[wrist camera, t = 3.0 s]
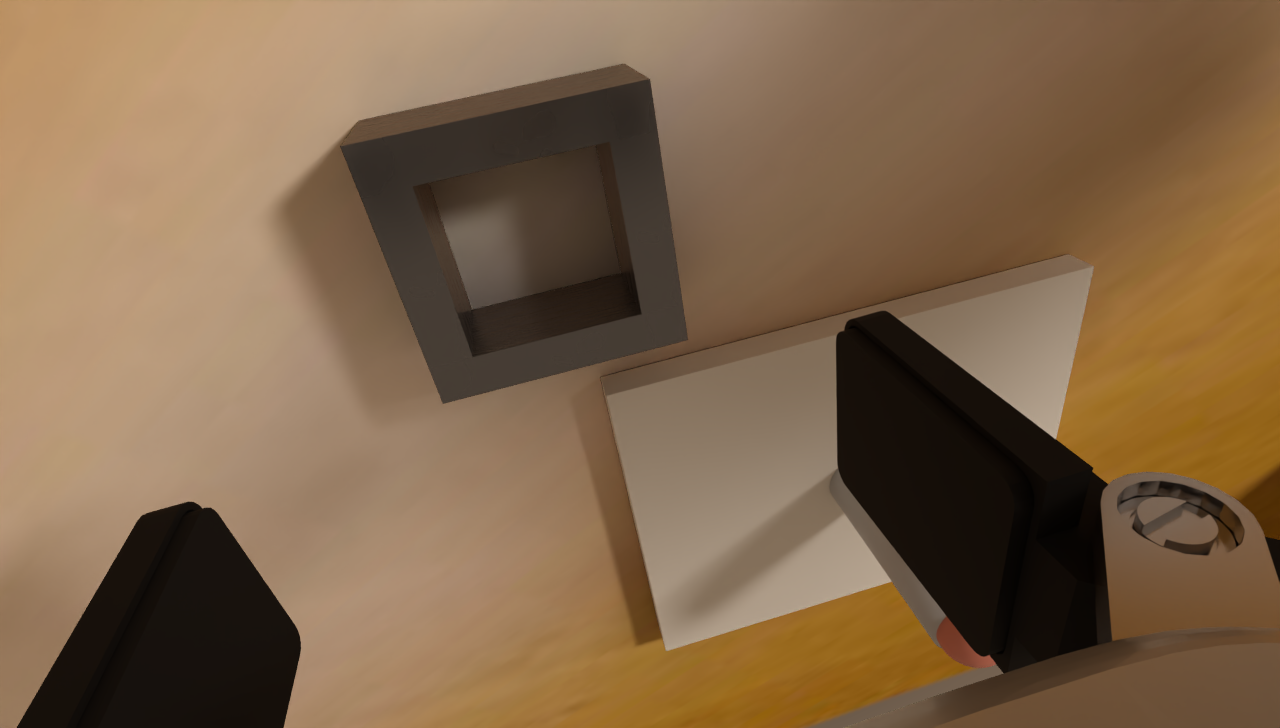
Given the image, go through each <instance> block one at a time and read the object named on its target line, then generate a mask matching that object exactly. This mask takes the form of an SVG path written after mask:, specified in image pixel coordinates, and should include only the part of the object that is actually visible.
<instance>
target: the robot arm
mask: <svg viewBox="0 0 1280 728" xmlns="http://www.w3.org/2000/svg"><path fill="white" fill-rule="evenodd" d="M836 398H837V465H838V470H839V473H840V476H841V479H842V481H843V483H844V484H845V486H846V487H847V488H848V490H849V491H850V492H851V494H852V495H853V496H854V497H855V499H856V500H857V501H858V503H859V504H860V505H861V506H862V508H863V509H864V510H865V512H866V513H867V514H868V515H869V517H870V518H871V519H872V521H873V522H874V523H875V525H876V526H877V527H878V528H879V530H880V531H881V532H882V534H883V535H884V536H885V537H886V539H887V540H888V541H889V543H890V544H891V545H892V546H893V548H894V549H895V550H896V552H897V553H898V554H899V555H900V557H901V558H902V559H903V561H904V562H905V563H906V564H907V566H908V567H909V568H910V570H911V571H912V572H913V574H914V575H915V576H916V577H917V579H918V580H919V581H920V583H921V584H922V585H923V586H924V588H925V589H926V590H927V592H928V593H929V594H930V595H931V597H932V598H933V599H934V601H935V602H936V603H937V604H938V606H939V607H940V608H941V610H942V611H943V612H944V614H945V615H946V616H947V617H948V619H949V620H950V621H951V623H952V624H953V625H954V626H955V628H956V629H957V630H958V632H959V633H960V634H961V635H962V637H963V638H964V639H965V641H966V642H967V643H968V644H969V646H970V647H971V648H972V649H973V650H974V651H975V652H976V653H977V654H978V655H980V656H982V657H985V656H988V655H990V657H991V658H992V659H993V661H994V662H995V663H996V664H997V666H998V667H999V668H1000V669H1001V670H1002V672H1003V673H1004V674H1001V675H998V676H995V677H992V678H989V679H985V680H983V681H979V682H976V683H973V684H971V685H967V686H964V687H961V688H958V689H955V690H952V691H949V692H946V693H943V694H939V695H937V696H934V697H931V698H928V699H925V700H922V701H919V702H916V703H913V704H911V705H908V706H905V707H902V708H899V709H896V710H893V711H890V712H887V713H884V714H882V715H879V716H876V717H873V718H870V719H867V720H864V721H861V722H858V723H856V724H853V725H850V726H847V727H844V728H1280V540H1277V539H1272V538H1268V537H1265V536H1264V533H1263V530H1262V529H1261V527H1260V525H1259V523H1258V522H1257V520H1256V518H1255V517H1254V515H1253V514H1252V513H1251V512H1250V511H1249V510H1248V509H1246V508H1245V507H1244V506H1243V505H1242V504H1241V503H1240V502H1239V501H1238V500H1236V499H1234V498H1233V497H1231V496H1229V495H1228V494H1226V493H1224V492H1223V491H1221V490H1219V489H1218V488H1215V487H1213V486H1210V485H1208V484H1205V483H1203V482H1200V481H1198V480H1195V479H1192V478H1187V477H1183V476H1179V475H1174V474H1170V473H1157V472H1142V473H1134V474H1127V475H1124V476H1122V477H1120V478H1117V479H1115V480H1113V481H1111V482H1110V484H1109V485H1108V484H1107V483H1106V482H1105V481H1103V480H1102V479H1101V478H1099V477H1098V476H1097V475H1095V474H1094V473H1093V472H1092V470H1093V467H1091V466H1090V465H1089V464H1087V463H1086V462H1085V461H1083V460H1082V459H1081V458H1080V457H1078V456H1077V455H1076V454H1074V453H1073V452H1072V451H1070V450H1069V449H1068V448H1066V447H1065V446H1064V445H1063V444H1061V443H1060V442H1059V441H1057V440H1056V439H1055V438H1053V437H1052V436H1051V435H1049V434H1048V433H1047V432H1045V431H1044V430H1043V429H1042V428H1040V427H1039V426H1038V425H1036V424H1035V423H1034V422H1032V421H1031V420H1030V419H1028V418H1027V417H1026V416H1024V415H1023V414H1022V413H1021V412H1019V411H1018V410H1017V409H1015V408H1014V407H1013V406H1011V405H1010V404H1009V403H1007V402H1006V401H1005V400H1004V399H1002V398H1001V397H1000V396H998V395H997V394H996V393H994V392H993V391H992V390H990V389H989V388H988V387H986V386H985V385H984V384H983V383H981V382H980V381H979V380H977V379H976V378H975V377H973V376H972V375H971V374H969V373H968V372H967V371H965V370H964V369H963V368H962V367H960V366H959V365H958V364H956V363H955V362H954V361H952V360H951V359H950V358H948V357H947V356H946V355H945V354H943V353H942V352H941V351H939V350H938V349H937V348H935V347H934V346H933V345H931V344H930V343H929V342H927V341H926V340H925V339H924V338H922V337H921V336H920V335H918V334H917V333H916V332H914V331H913V330H912V329H910V328H909V327H908V326H906V325H905V324H904V323H903V322H901V321H900V320H899V319H897V318H896V317H895V316H893V315H892V314H891V313H889V312H887V311H878V312H875V313H871V314H868V315H864V316H860V317H857V318H853V319H850V320H848V321H847V322H846V325H845V329H844V331H841V332H839V333H838V334H837V337H836ZM300 651H301V641H300V636H299V632H298V630H297V628H296V626H295V624H294V623H293V622H292V620H291V619H290V617H289V616H288V614H287V613H286V611H285V610H284V609H283V607H282V606H281V604H280V603H279V601H278V600H277V598H276V597H275V596H274V594H273V593H272V591H271V590H270V588H269V587H268V585H267V584H266V583H265V581H264V580H263V578H262V577H261V575H260V574H259V572H258V571H257V570H256V568H255V567H254V565H253V564H252V562H251V561H250V559H249V558H248V557H247V555H246V554H245V552H244V551H243V549H242V548H241V546H240V545H239V544H238V542H237V541H236V539H235V538H234V536H233V535H232V533H231V532H230V530H229V529H228V528H227V526H226V525H225V523H224V522H223V520H222V519H221V517H220V516H219V515H218V513H217V512H216V511H215V510H213V509H212V508H203V509H202V507H201V506H200V505H198V504H196V503H194V502H186V503H182V504H179V505H175V506H171V507H168V508H164V509H160V510H157V511H153V512H150V513H147V514H145V515H142V516H141V517H140V519H139V520H138V521H137V523H136V524H135V526H134V528H133V529H132V531H131V533H130V535H129V536H128V538H127V540H126V541H125V543H124V545H123V547H122V548H121V550H120V552H119V553H118V555H117V557H116V559H115V560H114V562H113V564H112V565H111V567H110V569H109V571H108V572H107V574H106V576H105V577H104V579H103V581H102V583H101V584H100V586H99V588H98V589H97V591H96V593H95V595H94V596H93V598H92V600H91V601H90V603H89V605H88V607H87V608H86V610H85V612H84V613H83V615H82V617H81V619H80V620H79V622H78V624H77V625H76V627H75V629H74V631H73V632H72V634H71V636H70V637H69V639H68V641H67V643H66V644H65V646H64V648H63V649H62V651H61V653H60V654H59V656H58V658H57V660H56V661H55V663H54V665H53V666H52V668H51V670H50V672H49V673H48V675H47V677H46V678H45V680H44V682H43V684H42V685H41V687H40V689H39V690H38V692H37V694H36V696H35V697H34V699H33V701H32V702H31V704H30V706H29V708H28V709H27V711H26V713H25V714H24V716H23V718H22V720H21V721H20V723H19V725H18V726H17V728H283V727H284V723H285V719H286V714H287V710H288V705H289V701H290V697H291V692H292V688H293V683H294V679H295V675H296V670H297V666H298V661H299V657H300Z"/></svg>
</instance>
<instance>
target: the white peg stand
mask: <svg viewBox="0 0 1280 728" xmlns="http://www.w3.org/2000/svg"><path fill="white" fill-rule="evenodd" d="M1093 269H1094V266H1093V265H1091V264H1089V263H1086V262H1084V261H1082V260H1080V259H1078V258H1076V257H1074V256H1072V255H1070V254H1067V255H1063V256H1060V257H1056V258H1052V259H1048V260H1044V261H1041V262H1037V263H1033V264H1029V265H1025V266H1022V267H1018V268H1014V269H1010V270H1006V271H1003V272H999V273H995V274H991V275H987V276H984V277H980V278H976V279H972V280H968V281H965V282H961V283H957V284H953V285H949V286H946V287H942V288H938V289H934V290H930V291H927V292H923V293H919V294H915V295H911V296H908V297H904V298H900V299H896V300H892V301H888V302H885V303H881V304H877V305H873V306H869V307H866V308H862V309H858V310H854V311H850V312H847V313H843V314H839V315H835V316H831V317H828V318H824V319H820V320H816V321H812V322H809V323H805V324H801V325H797V326H793V327H790V328H786V329H782V330H778V331H774V332H771V333H767V334H763V335H759V336H755V337H752V338H748V339H744V340H740V341H736V342H733V343H729V344H725V345H721V346H717V347H714V348H710V349H706V350H702V351H698V352H695V353H691V354H687V355H683V356H679V357H675V358H672V359H668V360H664V361H660V362H656V363H653V364H649V365H645V366H641V367H637V368H634V369H630V370H626V371H622V372H618V373H615V374H611V375H607V376H603V377H600V379H601V383H602V387H603V391H604V395H605V400H606V404H607V408H608V412H609V417H610V421H611V425H612V429H613V434H614V438H615V442H616V446H617V451H618V455H619V459H620V463H621V467H622V472H623V476H624V480H625V484H626V489H627V493H628V497H629V501H630V506H631V510H632V514H633V518H634V522H635V527H636V531H637V535H638V539H639V544H640V548H641V552H642V556H643V561H644V565H645V569H646V573H647V578H648V582H649V586H650V590H651V594H652V599H653V603H654V607H655V611H656V616H657V620H658V624H659V628H660V632H661V635H662V639H663V642H664V645H665V649H666V651H668V650H672V649H675V648H678V647H681V646H684V645H688V644H691V643H694V642H697V641H701V640H704V639H707V638H710V637H714V636H717V635H720V634H723V633H727V632H730V631H733V630H736V629H739V628H743V627H746V626H749V625H752V624H756V623H759V622H762V621H765V620H769V619H772V618H775V617H778V616H782V615H785V614H788V613H791V612H795V611H798V610H801V609H804V608H807V607H811V606H814V605H817V604H820V603H824V602H827V601H830V600H833V599H837V598H840V597H843V596H846V595H850V594H853V593H856V592H859V591H863V590H866V589H869V588H872V587H875V586H879V585H882V584H885V583H888V582H893V584H894V585H895V587H896V588H897V590H898V591H899V593H900V594H901V595H902V597H903V598H904V600H905V601H906V603H907V604H908V605H909V607H910V608H911V610H912V611H913V613H914V614H915V616H916V617H917V618H918V620H919V621H920V623H921V624H922V626H923V627H924V629H925V630H926V631H927V633H928V634H929V636H930V637H931V639H932V640H933V641H934V643H935V644H936V645H937V646H938V647H940V648H943V650H944V651H945V652H946V653H947V654H948V655H949V656H950V657H951V658H953V659H954V660H955V661H957V662H959V663H961V664H963V665H966V666H970V667H975V668H985V667H990V666H993V665H995V664H996V663H995V662H994V661H993V659H992V658H991V657H990V655H988V656H985V657H982V656H980V655H978V654H977V653H976V652H975V651H974V650H973V649H972V648H971V647H970V646H969V644H968V643H967V642H966V641H965V639H964V638H963V637H962V635H961V634H960V633H959V632H958V630H957V629H956V628H955V626H954V625H953V624H952V623H951V621H950V620H949V619H948V617H947V616H946V615H945V614H944V612H943V611H942V610H941V608H940V607H939V606H938V604H937V603H936V602H935V601H934V599H933V598H932V597H931V595H930V594H929V593H928V592H927V590H926V589H925V588H924V586H923V585H922V584H921V583H920V581H919V580H918V579H917V577H916V576H915V575H914V574H913V572H912V571H911V570H910V568H909V567H908V566H907V564H906V563H905V562H904V561H903V559H902V558H901V557H900V555H899V554H898V553H897V552H896V550H895V549H894V548H893V546H892V545H891V544H890V543H889V541H888V540H887V539H886V537H885V536H884V535H883V534H882V532H881V531H880V530H879V528H878V527H877V526H876V525H875V523H874V522H873V521H872V519H871V518H870V517H869V515H868V514H867V513H866V512H865V510H864V509H863V508H862V506H861V505H860V504H859V503H858V501H857V500H856V499H855V497H854V496H853V495H852V494H851V492H850V491H849V490H848V488H847V487H846V486H845V484H844V483H843V481H842V479H841V476H840V473H839V470H838V465H837V398H836V337H837V334H838V333H839V332H841V331H844V329H845V325H846V322H847V321H848V320H850V319H853V318H857V317H860V316H864V315H868V314H871V313H875V312H878V311H887V312H889V313H891V314H892V315H893V316H895V317H896V318H897V319H899V320H900V321H901V322H903V323H904V324H905V325H906V326H908V327H909V328H910V329H912V330H913V331H914V332H916V333H917V334H918V335H920V336H921V337H922V338H924V339H925V340H926V341H927V342H929V343H930V344H931V345H933V346H934V347H935V348H937V349H938V350H939V351H941V352H942V353H943V354H945V355H946V356H947V357H948V358H950V359H951V360H952V361H954V362H955V363H956V364H958V365H959V366H960V367H962V368H963V369H964V370H965V371H967V372H968V373H969V374H971V375H972V376H973V377H975V378H976V379H977V380H979V381H980V382H981V383H983V384H984V385H985V386H986V387H988V388H989V389H990V390H992V391H993V392H994V393H996V394H997V395H998V396H1000V397H1001V398H1002V399H1004V400H1005V401H1006V402H1007V403H1009V404H1010V405H1011V406H1013V407H1014V408H1015V409H1017V410H1018V411H1019V412H1021V413H1022V414H1023V415H1024V416H1026V417H1027V418H1028V419H1030V420H1031V421H1032V422H1034V423H1035V424H1036V425H1038V426H1039V427H1040V428H1042V429H1043V430H1044V431H1045V432H1047V433H1048V434H1049V435H1051V436H1052V437H1053V438H1055V439H1056V437H1057V432H1058V428H1059V423H1060V419H1061V414H1062V410H1063V405H1064V401H1065V396H1066V391H1067V387H1068V382H1069V378H1070V373H1071V369H1072V364H1073V360H1074V355H1075V351H1076V346H1077V342H1078V337H1079V333H1080V328H1081V324H1082V319H1083V315H1084V310H1085V306H1086V301H1087V297H1088V292H1089V288H1090V283H1091V279H1092V274H1093Z"/></svg>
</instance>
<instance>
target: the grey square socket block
mask: <svg viewBox="0 0 1280 728" xmlns="http://www.w3.org/2000/svg"><path fill="white" fill-rule="evenodd" d="M593 145H596V149H597V154H598V159H599V164H600V169H601V174H602V180H603V185H604V190H605V195H606V200H607V205H608V210H609V215H610V220H611V225H612V231H613V236H614V241H615V246H616V251H617V256H618V261H619V266H620V271H621V273H620V274H616V275H612V276H608V277H604V278H600V279H596V280H592V281H588V282H584V283H579V284H575V285H571V286H567V287H563V288H559V289H555V290H551V291H547V292H543V293H539V294H535V295H531V296H527V297H523V298H519V299H515V300H511V301H507V302H503V303H499V304H495V305H491V306H487V307H482V308H478V309H474V310H472V309H471V306H470V303H469V300H468V297H467V294H466V291H465V288H464V285H463V282H462V280H461V277H460V274H459V271H458V268H457V265H456V262H455V259H454V256H453V253H452V250H451V247H450V244H449V241H448V238H447V235H446V232H445V229H444V226H443V224H442V221H441V218H440V215H439V212H438V209H437V206H436V203H435V200H434V197H433V194H432V191H431V188H430V185H429V183H430V182H434V181H439V180H443V179H448V178H452V177H457V176H461V175H465V174H470V173H474V172H479V171H483V170H487V169H492V168H496V167H501V166H505V165H510V164H514V163H518V162H523V161H527V160H532V159H536V158H540V157H545V156H549V155H554V154H558V153H563V152H567V151H571V150H576V149H580V148H585V147H589V146H593ZM340 147H341V149H342V152H343V154H344V157H345V159H346V162H347V164H348V167H349V169H350V172H351V174H352V177H353V179H354V182H355V184H356V187H357V189H358V192H359V194H360V197H361V199H362V202H363V204H364V207H365V209H366V212H367V214H368V217H369V219H370V222H371V224H372V227H373V229H374V232H375V234H376V237H377V239H378V242H379V244H380V247H381V249H382V252H383V254H384V257H385V259H386V262H387V264H388V267H389V269H390V272H391V274H392V277H393V279H394V282H395V285H396V287H397V290H398V292H399V295H400V297H401V300H402V302H403V305H404V307H405V310H406V312H407V315H408V317H409V320H410V322H411V325H412V327H413V330H414V332H415V335H416V337H417V340H418V342H419V345H420V347H421V350H422V352H423V355H424V357H425V360H426V362H427V365H428V367H429V370H430V372H431V375H432V377H433V380H434V382H435V385H436V387H437V390H438V392H439V395H440V397H441V400H442V402H443V404H444V403H448V402H452V401H455V400H459V399H463V398H467V397H471V396H475V395H478V394H482V393H486V392H490V391H494V390H498V389H501V388H505V387H509V386H513V385H517V384H521V383H524V382H528V381H532V380H536V379H540V378H544V377H547V376H551V375H555V374H559V373H563V372H567V371H570V370H574V369H578V368H582V367H586V366H590V365H594V364H597V363H601V362H605V361H609V360H613V359H617V358H620V357H624V356H628V355H632V354H636V353H640V352H643V351H647V350H651V349H655V348H659V347H663V346H666V345H670V344H674V343H678V342H682V341H686V340H688V337H687V331H686V324H685V317H684V310H683V303H682V296H681V289H680V283H679V276H678V269H677V262H676V255H675V248H674V241H673V234H672V228H671V221H670V214H669V207H668V200H667V193H666V186H665V179H664V173H663V166H662V159H661V152H660V145H659V138H658V131H657V124H656V118H655V111H654V104H653V97H652V90H651V83H650V79H649V78H647V77H646V76H644V75H642V74H641V73H639V72H637V71H636V70H634V69H632V68H631V67H629V66H627V65H626V64H621V65H616V66H611V67H607V68H602V69H597V70H593V71H588V72H583V73H579V74H574V75H569V76H565V77H560V78H555V79H551V80H546V81H541V82H537V83H532V84H527V85H523V86H518V87H513V88H509V89H504V90H499V91H495V92H490V93H485V94H481V95H476V96H471V97H467V98H462V99H458V100H453V101H448V102H444V103H439V104H434V105H430V106H425V107H420V108H416V109H411V110H406V111H402V112H397V113H392V114H388V115H383V116H378V117H374V118H369V119H364V120H360V121H358V122H357V124H356V125H355V126H354V128H353V129H352V131H351V132H350V133H349V135H348V136H347V138H346V139H345V141H344V142H343V143H342V145H341V146H340Z"/></svg>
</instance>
